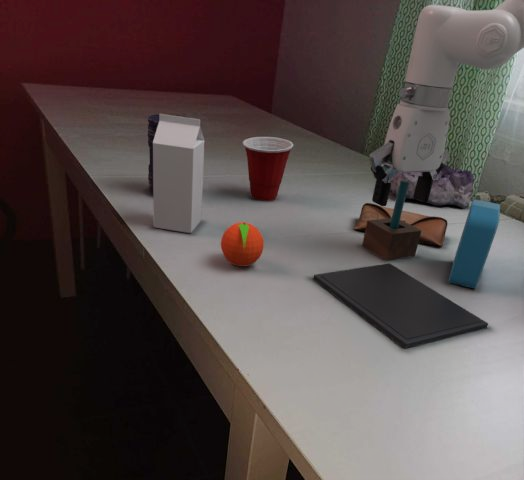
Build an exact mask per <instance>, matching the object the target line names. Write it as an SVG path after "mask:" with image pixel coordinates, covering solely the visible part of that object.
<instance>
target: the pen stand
mask: <svg viewBox="0 0 524 480" xmlns="http://www.w3.org/2000/svg"><path fill="white" fill-rule="evenodd" d="M391 219H392V218H387V219H377V220H368V221H367V225H366V230H365V231H364V235H363V240H362V243H361V244H362V245H361V247H363V248H365V249H367V250H368V251H370V252H372V254H375V256H378V257H379V258H381V259H383V260H385V261H392V260H398V259H404V258H406V259H407V258H413V257H415V256H416V252H417V249H418V245H419V243H418V242H419V238H420V235H421V230H419V229H418V228H416V227H414V226H412V225H410V224H408V223H406V222H404V221H402V220H400V222H399V226H398V229H392V228H390V223H391Z"/></svg>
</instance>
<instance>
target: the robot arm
mask: <svg viewBox="0 0 524 480" xmlns="http://www.w3.org/2000/svg"><path fill="white" fill-rule="evenodd" d="M522 49H524V0H504V1H503V2H502V3H500V4H499V5H498V6H496V7H494V9H484V10H483V9H481V10H480V9H479V10H466V9H465V8H462V7H456V6H452V5H451V6H450V5H441V4H429V5H426V6H424V7H423V8H422V9H421V11H420V12H419V15H418V19H417V23H416V27H415V32H414V36H413V41H412V45H411V50H410V54H409V60H408V64H407V68H406V73H405V77H404V82H403V87H401V88H399V91H398V96H399V98H400V101H399V103H397V105H396V107H395V109H394V112H393V114H392V117H391V120H390V123H389V126H388V129H387V133H386V137H385V139H384V144H383V145H382V146H380V147H378V148H377V149H376V150H374V151H372V152H371V153H369V155H368V157H369V163H370V171H371V172H372V175H373V178H374V179H375V184H374V189H373V193H372V199H371V200H372V203H374V204H376V205H379V206H381V207H386V206H387V205H388V200H389V196H390V192H391V191H390V188H391V183H389V181H390V179H391V178H392V177H393V176H394V175H395V173H396V172H397V171H399V172H402V173H412V172H421V174H422V176H419V177H418V180H417V184H416V187H415V191H414V195H413V197H414V198H415V199H414V200H416V199H417V201H419V202H422V203H424V204H425V203H426V204H427V202H428V199H429V195H430V192H431V188H432V184H433V180H436V179H437V176H438V175H437V174H438V173H439V172H440V171H441V170H442V169H443V167H444V165H446V163H447V161H448V159H449V158H450V156H451V153H450V152H449V150H447V149H446V143H447V139H448V138H447V137H448V133H449V125H450V113H451V111H450V108H448V106H449V102H450V98H451V96H452V91H453V87H454V83H455V79H456V76H457V72H458V68H459V65H460V64H463V65H467V66H470V67H474V68H476V69H480V70H493V69H498V68H500V67H502V66H503V65H505V64H507V63H508V62H509V61H510V60H511V59H512V58H513V56H514V55H515V54H517V53H518V52H520V51H521V50H522Z"/></svg>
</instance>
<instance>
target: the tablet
mask: <svg viewBox="0 0 524 480" xmlns="http://www.w3.org/2000/svg"><path fill="white" fill-rule="evenodd" d="M313 280H314V281H315V282H317V284H319V285H321V286H322V287H323V288H324V289H326V290H327V291H328V292H329V293H331V294H332V295H333V296H335V297H336V298H337V299H339V300H340V301H342V302H343V303H344V304H346V305H347V306H348V307H350V308H351V309H352V310H353V311H355V312H356V313H357V314H358V315H360V316H361V317H363V318H364V319H365V320H367V321H368V322H369V323H371V324H372V325H373V326H374V327H375V328H377V329H378V330H380V331H381V332H383V333H384V334H385V335H386V336H388V337H389V338H391V339H392V341H394V342H395V343H397V344H398V345H400V346H401V347H402V348H404V349H408V348H412V347H413V348H414V347H417V346H420V345H424V344H425V345H426V344H429V343H433V342H437V341H440V340H445V339H448V338H454V337H457V336H460V335H464V334H468V333H469V334H470V333H472V332H476V331H480V330H484V329H487V328H488V326H489V323H488V321H485V320H484V319H482V318H480V317H479V316H477V315H475V313H472V312H470V311H469V310H467V309H465V308H464V307H462V306H460V305H459V304H457V303H455V302H454V301H453V300H451V299H449V298H448V297H446V296H444V295H443V294H441V293H440V292H438V291H437V290H434V289H433V288H431V287H429V286H427V285H426V284H425V283H423V282H421V281H420V280H418V279H416V278H415V277H413V276H411V275H409V274H408V273H407V272H405V271H404V270H402V269H400V268H398V267H397V266H395V265H394V264H392V263H389V262H388V263H382V264H376V265H369V266H363V267H356V268H350V269H349V268H348V269H343V270H336V271H329V272H323V273H316V274H313Z"/></svg>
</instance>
